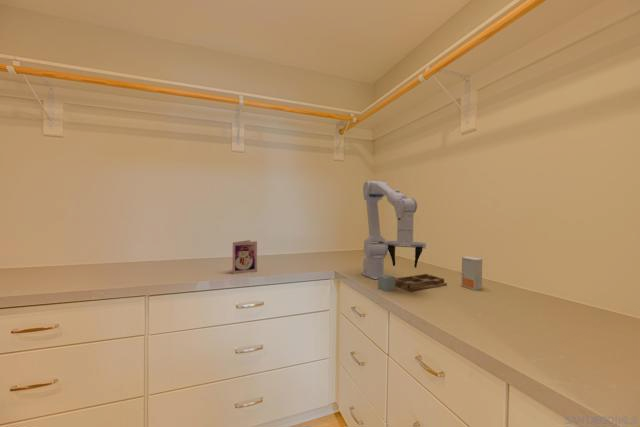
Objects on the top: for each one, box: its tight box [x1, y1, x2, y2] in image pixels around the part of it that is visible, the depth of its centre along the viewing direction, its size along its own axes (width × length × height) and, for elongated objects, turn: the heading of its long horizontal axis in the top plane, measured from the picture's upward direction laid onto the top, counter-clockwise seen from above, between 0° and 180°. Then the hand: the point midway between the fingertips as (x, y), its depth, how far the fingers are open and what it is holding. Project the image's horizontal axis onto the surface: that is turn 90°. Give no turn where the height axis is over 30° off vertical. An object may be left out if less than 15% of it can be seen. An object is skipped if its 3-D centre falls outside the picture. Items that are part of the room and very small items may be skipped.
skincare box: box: [460, 255, 483, 291], centre depth 104 cm, size 6×4×12 cm
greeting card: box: [232, 239, 258, 275], centre depth 128 cm, size 11×7×15 cm, turn 116°
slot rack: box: [395, 273, 448, 293], centre depth 107 cm, size 11×20×3 cm, turn 116°
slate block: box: [377, 274, 396, 292], centre depth 101 cm, size 4×4×5 cm
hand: (404, 266), depth 98 cm, fingers open, 7 cm apart
